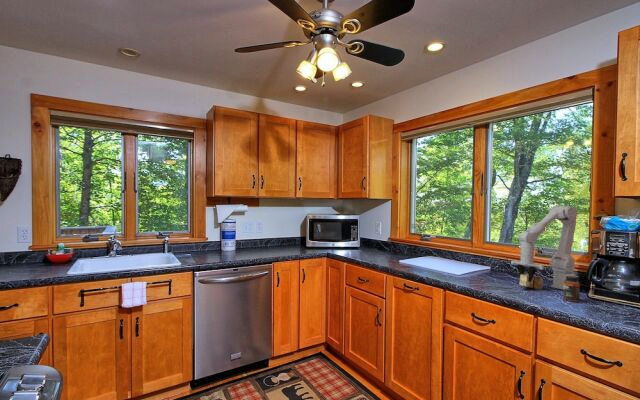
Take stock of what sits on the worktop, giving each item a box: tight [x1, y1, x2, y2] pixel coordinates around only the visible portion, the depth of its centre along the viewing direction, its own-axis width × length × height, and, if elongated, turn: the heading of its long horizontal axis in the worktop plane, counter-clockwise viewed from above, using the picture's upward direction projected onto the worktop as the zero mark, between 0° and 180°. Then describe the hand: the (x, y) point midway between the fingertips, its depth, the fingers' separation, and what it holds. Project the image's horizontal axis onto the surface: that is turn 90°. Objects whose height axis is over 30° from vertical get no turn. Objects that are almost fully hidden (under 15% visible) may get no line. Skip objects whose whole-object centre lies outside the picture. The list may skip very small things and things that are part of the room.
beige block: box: [518, 274, 534, 289], centre depth 164 cm, size 10×3×6 cm, turn 126°
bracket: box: [520, 272, 544, 290], centre depth 167 cm, size 9×4×7 cm, turn 36°
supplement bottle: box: [562, 276, 581, 303], centre depth 145 cm, size 6×6×11 cm
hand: (526, 280), depth 163 cm, fingers closed on beige block, 3 cm apart
